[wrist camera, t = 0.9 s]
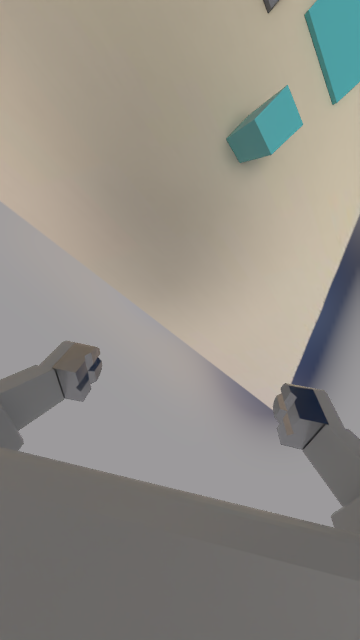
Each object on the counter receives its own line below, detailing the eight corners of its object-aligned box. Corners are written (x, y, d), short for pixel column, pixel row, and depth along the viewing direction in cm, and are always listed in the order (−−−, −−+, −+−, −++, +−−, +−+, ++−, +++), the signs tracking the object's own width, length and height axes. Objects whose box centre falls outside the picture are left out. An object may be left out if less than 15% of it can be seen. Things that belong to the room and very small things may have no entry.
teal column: (226, 138, 37) (254, 119, 26) (247, 115, 35) (287, 84, 24) (239, 163, 39) (271, 154, 28) (261, 142, 37) (303, 124, 26)
